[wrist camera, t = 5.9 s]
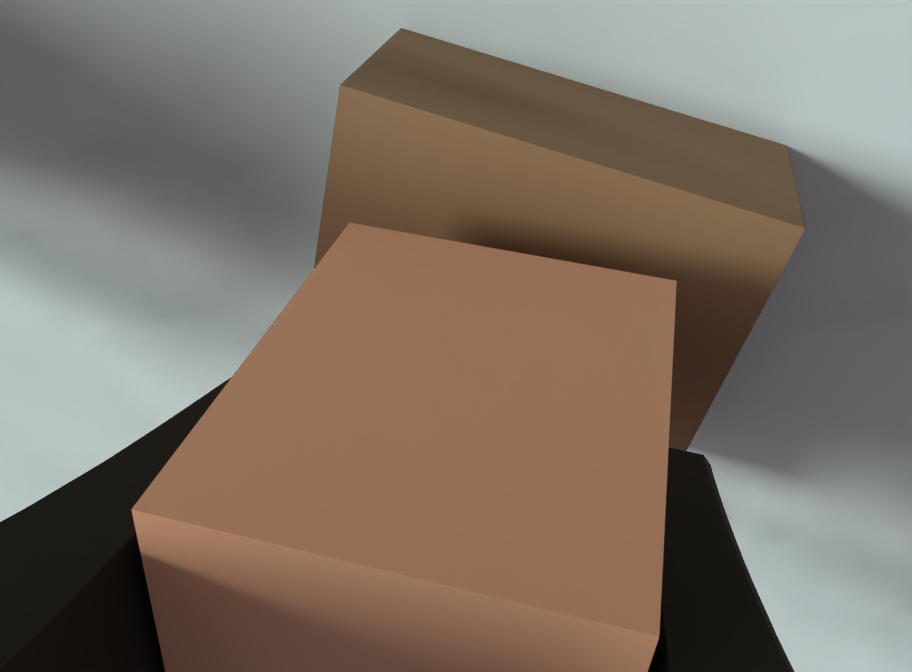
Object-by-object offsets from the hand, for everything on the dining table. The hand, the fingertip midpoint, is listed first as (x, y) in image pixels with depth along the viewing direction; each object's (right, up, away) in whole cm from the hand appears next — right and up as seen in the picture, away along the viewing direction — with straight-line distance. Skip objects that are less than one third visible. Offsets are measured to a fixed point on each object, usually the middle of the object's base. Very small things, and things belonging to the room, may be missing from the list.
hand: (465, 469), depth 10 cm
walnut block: (+1, +3, +5) cm, 6 cm away
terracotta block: (0, +1, +1) cm, 2 cm away
